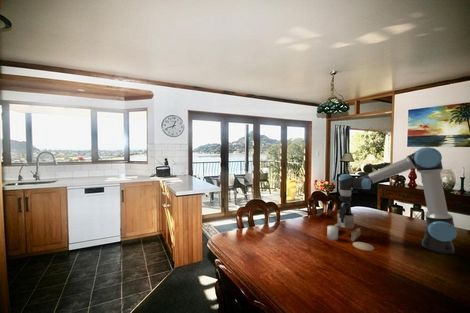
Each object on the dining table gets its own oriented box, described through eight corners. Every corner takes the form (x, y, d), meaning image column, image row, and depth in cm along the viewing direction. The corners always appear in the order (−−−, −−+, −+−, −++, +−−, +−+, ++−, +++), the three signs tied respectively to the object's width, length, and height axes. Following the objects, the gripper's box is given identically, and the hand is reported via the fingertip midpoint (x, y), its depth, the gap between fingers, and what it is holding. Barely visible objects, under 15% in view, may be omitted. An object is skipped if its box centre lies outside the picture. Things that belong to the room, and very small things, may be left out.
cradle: (360, 235, 155) (360, 228, 155) (354, 241, 146) (354, 233, 145) (336, 229, 167) (336, 223, 167) (329, 234, 157) (329, 227, 157)
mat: (376, 246, 137) (376, 245, 137) (371, 252, 129) (371, 252, 129) (355, 241, 146) (355, 240, 146) (350, 246, 137) (350, 245, 137)
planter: (352, 230, 148) (352, 216, 148) (335, 227, 155) (335, 214, 155) (355, 225, 157) (355, 213, 157) (339, 223, 164) (339, 210, 163)
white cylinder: (339, 238, 150) (339, 227, 150) (335, 241, 145) (335, 229, 145) (329, 235, 155) (329, 224, 155) (325, 238, 150) (325, 227, 150)
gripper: (345, 192, 166) (345, 220, 167) (334, 196, 150) (334, 227, 150) (355, 193, 161) (356, 222, 161) (345, 198, 145) (345, 230, 145)
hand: (345, 225), depth 156 cm, fingers closed on planter, 11 cm apart
